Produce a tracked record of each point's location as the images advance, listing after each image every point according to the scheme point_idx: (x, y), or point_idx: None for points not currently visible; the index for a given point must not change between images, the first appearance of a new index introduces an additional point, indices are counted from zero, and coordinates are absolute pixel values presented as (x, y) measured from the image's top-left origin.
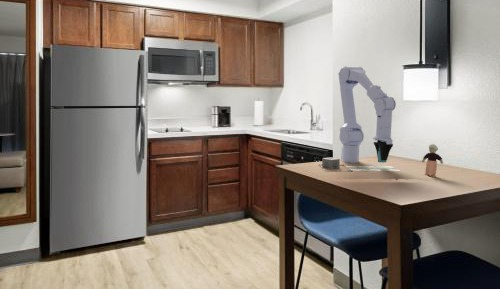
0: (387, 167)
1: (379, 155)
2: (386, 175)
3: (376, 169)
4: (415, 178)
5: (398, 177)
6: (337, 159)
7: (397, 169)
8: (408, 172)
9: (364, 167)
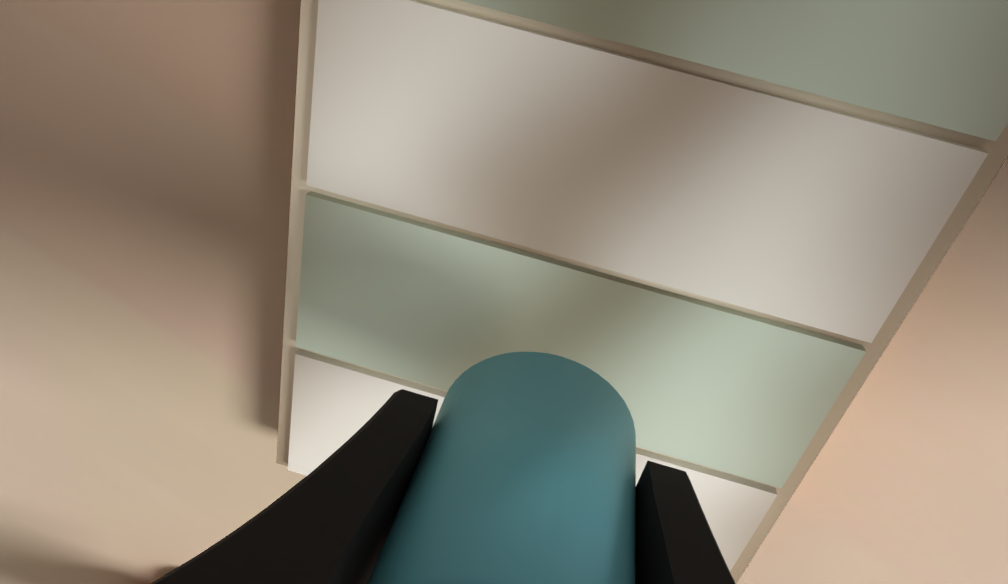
0: None
1: (470, 475)
2: (191, 163)
3: (451, 171)
4: (25, 402)
5: (53, 246)
6: None
7: None
8: None
9: (762, 36)
